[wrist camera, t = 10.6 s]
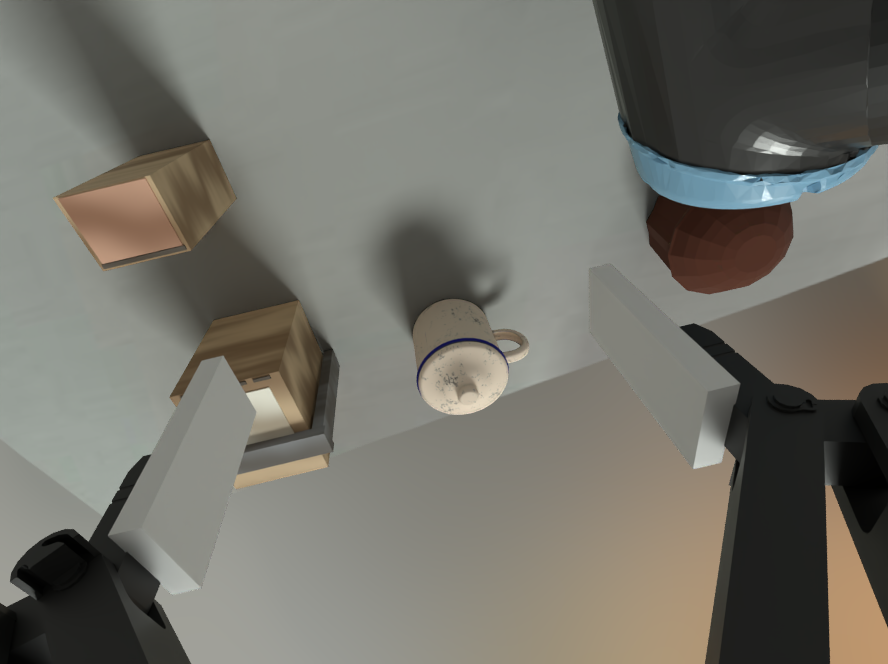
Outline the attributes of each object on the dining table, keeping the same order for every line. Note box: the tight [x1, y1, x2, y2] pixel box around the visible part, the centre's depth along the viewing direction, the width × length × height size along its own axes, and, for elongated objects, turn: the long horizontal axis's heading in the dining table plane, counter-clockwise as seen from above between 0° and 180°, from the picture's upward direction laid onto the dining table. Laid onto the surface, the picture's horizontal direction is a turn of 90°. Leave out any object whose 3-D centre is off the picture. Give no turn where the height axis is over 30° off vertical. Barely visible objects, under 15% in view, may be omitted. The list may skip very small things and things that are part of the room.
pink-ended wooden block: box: [53, 140, 237, 271], centre depth 33 cm, size 5×6×12 cm
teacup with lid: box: [413, 299, 529, 415], centre depth 46 cm, size 12×9×12 cm
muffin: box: [646, 195, 793, 294], centre depth 43 cm, size 12×11×10 cm
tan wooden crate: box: [170, 300, 340, 489], centre depth 44 cm, size 12×12×13 cm
